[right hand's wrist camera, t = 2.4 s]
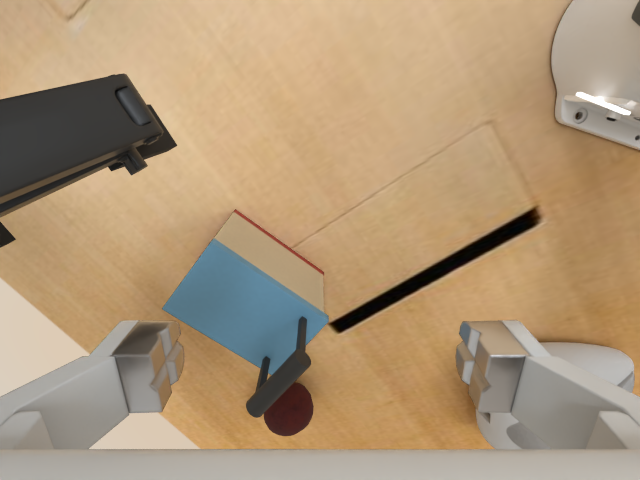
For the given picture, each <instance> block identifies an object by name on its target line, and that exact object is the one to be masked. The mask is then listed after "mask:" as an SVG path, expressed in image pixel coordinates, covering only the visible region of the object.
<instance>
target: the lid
mask: <svg viewBox="0 0 640 480" xmlns="http://www.w3.org/2000/svg"><path fill="white" fill-rule="evenodd" d="M162 309H163V310H164V311H166V312H168V313H169V314H171V315H173V316H174V317H176V318H178V319H179V320H181V321H183V322H184V323H186V324H188V325H189V326H191V327H193V328H194V329H196V330H198V331H199V332H201V333H203V334H204V335H206V336H208V337H209V338H211V339H213V340H214V341H216V342H218V343H219V344H221V345H223V346H224V347H226V348H228V349H229V350H231V351H233V352H234V353H236V354H238V355H239V356H241V357H243V358H244V359H246V360H247V361H249V362H251V363H252V364H254V365H256V366H257V367H259V368H261V369H260V374H259V378H258V383H257V388H256V392H255V394H254V395H253V396H252V397H251V398H250V399H249V400H248V401H247V403H246V408H247V411H248V412H249V414H250V415H252V416H253V417H260V416H262V415H263V413H264V412H265V411H266V410H267V409H268V408H269V407H270V406H271V405H272V404H273V403H274V402H275V401H276V400H277V399H278V398H279V397H280V396H281V395H282V394H283V393H284V392H285V391H286V390H287V389H288V388H289V387H290V386H291V385H292V384H293V383H294V382H295V381H296V380H297V379H298V378H299V377H300V376H301V375H302V374H303V373H304V372H305V370H306V369H307V368H308V367H309V366H310V365H311V360H310V358H309V356H308V355H307V354H306V353H305V347H306V345H307V344H308V343H309V342H310V341H311V340H312V338H313V337H314V336H315V335H316V334H317V333H318V332H319V331H320V330H321V329H322V328H323V327H324V326H325V325H326V324H327V323H328V321H329V318H328V315H327V314H325V313H324V312H322V311H321V310H319V309H318V308H316V307H315V306H313V305H312V304H310V303H309V302H307V301H306V300H304V299H303V298H301V297H300V296H299V295H297V294H296V293H294V292H293V291H291V290H290V289H288V288H287V287H285V286H284V285H282V284H281V283H279V282H278V281H276V280H275V279H273V278H272V277H271V276H269V275H268V274H266V273H265V272H263V271H262V270H260V269H259V268H257V267H256V266H254V265H253V264H251V263H250V262H248V261H247V260H245V259H244V258H243V257H241V256H240V255H238V254H237V253H235V252H234V251H232V250H231V249H229V248H228V247H226V246H225V245H223V244H222V243H220V242H219V241H217V240H216V239H213V240H212V241H211V242H210V244H209V245H208V246H207V248H206V249H205V251H204V252H203V253H202V255H201V256H200V257H199V259H198V260H197V261H196V263H195V264H194V266H193V267H192V268H191V270H190V271H189V272H188V274H187V275H186V276H185V278H184V279H183V281H182V282H181V283H180V285H179V286H178V287H177V289H176V290H175V292H174V293H173V294H172V296H171V297H170V298H169V300H168V301H167V302H166V304H165V305H164V307H163V308H162ZM268 373H269V374H271V375H272V376H271V377H270V378H269V379H268V380H267V376H268Z"/></svg>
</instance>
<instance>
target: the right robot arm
mask: <svg viewBox="0 0 640 480" xmlns="http://www.w3.org/2000/svg"><path fill="white" fill-rule="evenodd" d="M551 65H552V73H553V77H554V81H555V84H556V89H557V98H556V105H555V117H556V120H557V121H558V122H559V123H561V124H564V125H567V126H570V127H573V128H576V129H579V130H582V131H585V132H587V133H590V134H593V135H596V136H599V137H602V138H605V139H608V140H611V141H614V142H617V143H620V144H623V145H626V146H629V147H632V148H635V149H638V150H640V0H573V1H572V2H571V4H570V5H569V7H568V8H567V10H566V11H565V13H564V15H563V17H562V19H561V21H560V23H559V25H558V28H557V31H556V34H555V37H554V41H553V46H552V54H551ZM577 113H579V116H578V118H577V119H576V118H575V115H576V114H577ZM180 334H181V332H180V327H179V324H178V323H177V322H176V321H156V320H124V321H120V322H119V323H118V324H117V325H116V326H115V328H114V329H113V330H112V331H111V332H110V333H109V334H108V335H107V336H106V337H105V339H104V340H103V341H102V342H101V343H100V344H99V345H98V346H97V347H96V348H95V350H94V351H93V352H92V353H91V354H90V355H89V356H83V357H80V358H78V359H76V360H74V361H72V362H70V363H68V364H66V365H64V366H62V367H60V368H58V369H56V370H54V371H52V372H50V373H48V374H46V375H44V376H42V377H40V378H38V379H35V380H33V381H31V382H29V383H27V384H25V385H23V386H21V387H19V388H17V389H15V390H13V391H11V392H9V393H7V394H5V395H3V396H1V397H0V480H640V397H639V396H637V395H635V394H633V393H631V392H629V391H627V390H625V389H623V388H621V387H619V386H617V385H615V384H612V383H610V382H608V381H606V380H604V379H602V378H600V377H598V376H596V375H594V374H592V373H590V372H588V371H586V370H584V369H582V368H580V367H578V366H576V365H574V364H572V363H570V362H568V361H566V360H564V359H562V358H560V357H558V356H551V355H550V354H549V353H548V352H547V351H546V350H545V348H544V347H543V346H542V345H541V344H540V343H539V342H538V341H537V340H536V339H535V337H534V336H533V335H532V334H531V333H530V332H529V331H528V330H527V329H526V328H525V326H524V325H523V324H522V323H521V322H519V321H517V320H498V321H463V322H462V324H461V326H460V331H459V334H460V336H461V338H462V339H463V341H462V342H461V343H460V344H459V345H458V346H457V350H456V366H457V370H458V373H459V375H460V377H461V380H462V381H464V382H465V383H466V384H468V385H469V390H468V393H469V395H470V397H471V399H472V401H473V403H474V405H475V407H476V409H477V411H478V412H491V413H511V415H512V416H513V417H514V418H515V419H517V420H518V421H519V422H520V423H521V424H523V425H524V426H525V427H526V428H527V429H529V430H530V431H531V432H532V433H533V434H535V435H536V436H537V437H538V438H539V439H541V440H542V441H543V442H544V443H545V444H547V445H548V446H549V447H550V448H551V449H89V448H90V447H91V446H92V445H93V444H95V443H96V442H97V441H98V440H99V439H101V438H102V437H103V436H104V435H106V434H107V433H108V432H109V431H110V430H112V429H113V428H114V427H115V426H116V425H118V424H119V423H120V422H121V421H122V420H124V419H125V418H126V417H127V416H128V415H129V413H149V412H162V411H163V409H164V407H165V405H166V403H167V401H168V399H169V397H170V395H171V393H172V390H171V385H172V384H174V383H175V382H176V381H178V380H179V377H180V375H181V373H182V370H183V365H184V349H183V346H182V345H181V344H180V343H179V342H178V341H177V339H178V338H179V336H180Z"/></svg>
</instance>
